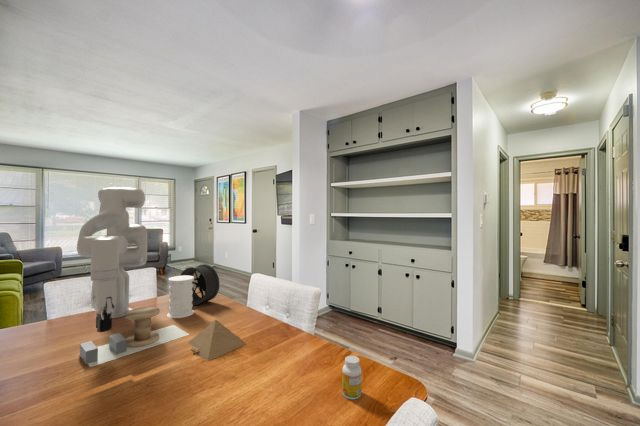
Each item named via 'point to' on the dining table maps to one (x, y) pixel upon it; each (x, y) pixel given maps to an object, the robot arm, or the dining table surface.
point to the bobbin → (142, 326)
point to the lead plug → (99, 320)
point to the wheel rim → (203, 283)
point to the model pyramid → (215, 341)
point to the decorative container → (180, 296)
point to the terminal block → (91, 351)
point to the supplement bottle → (351, 378)
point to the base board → (164, 336)
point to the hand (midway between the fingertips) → (103, 328)
